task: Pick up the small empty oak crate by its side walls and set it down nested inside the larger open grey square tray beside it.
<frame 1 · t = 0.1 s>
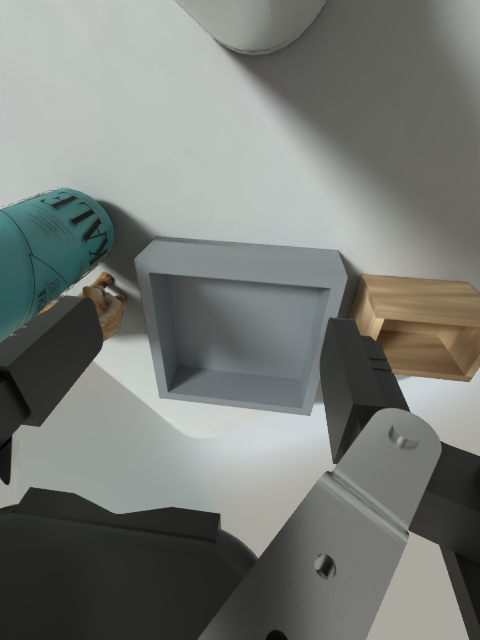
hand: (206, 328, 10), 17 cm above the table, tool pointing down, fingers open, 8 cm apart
lion figurine: (89, 286, 31), on the table
beverage bottle: (91, 219, 27), on the table
small oak crate: (402, 306, 28), on the table
grey square tray: (241, 317, 31), on the table
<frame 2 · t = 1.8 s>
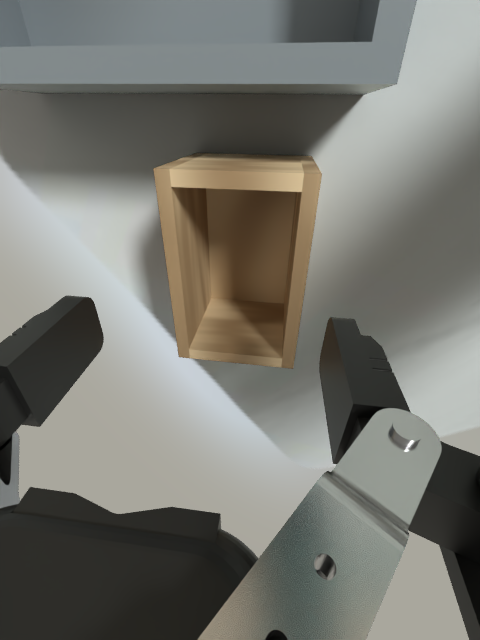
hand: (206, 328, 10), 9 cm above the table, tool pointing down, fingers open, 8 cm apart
small oak crate: (249, 239, 18), on the table
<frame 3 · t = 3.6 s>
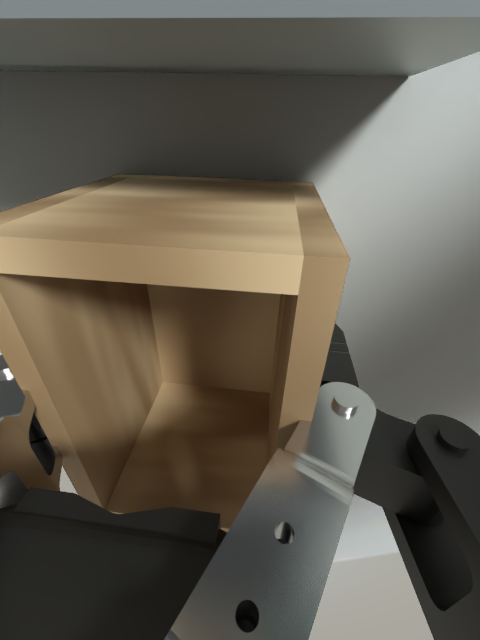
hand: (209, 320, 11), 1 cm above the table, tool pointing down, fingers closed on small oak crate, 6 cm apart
small oak crate: (216, 304, 12), on the table, touching gripper
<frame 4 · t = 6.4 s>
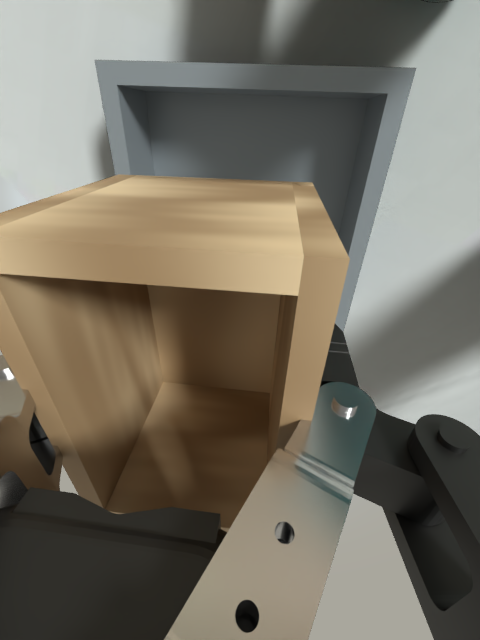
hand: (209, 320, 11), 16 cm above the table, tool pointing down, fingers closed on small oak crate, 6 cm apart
small oak crate: (216, 304, 12), point 14 cm above the table, touching gripper
grey square tray: (249, 207, 23), on the table
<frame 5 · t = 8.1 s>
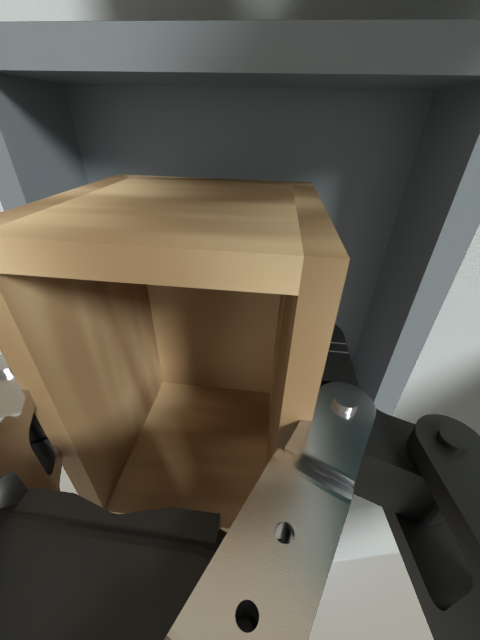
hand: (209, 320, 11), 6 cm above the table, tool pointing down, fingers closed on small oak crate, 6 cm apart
small oak crate: (216, 304, 12), point 5 cm above the table, touching gripper
grey square tray: (238, 254, 16), on the table
when the fingers open (4 cm above the table, at t = 9.5 s): small oak crate drops 2 cm, resting on grey square tray.
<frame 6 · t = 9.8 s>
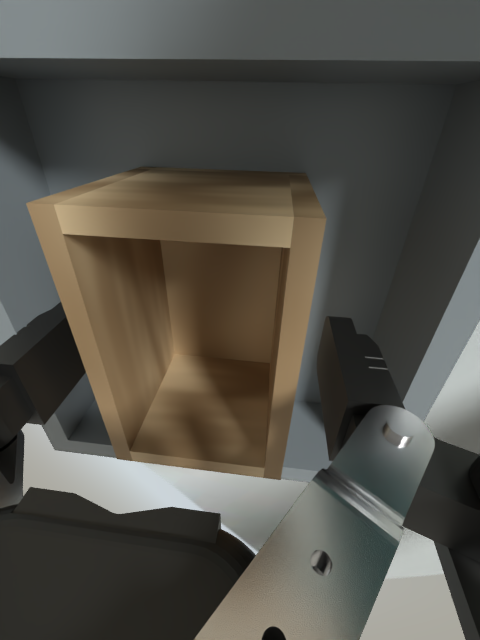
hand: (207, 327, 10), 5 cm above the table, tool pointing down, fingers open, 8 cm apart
small oak crate: (222, 282, 13), point 1 cm above the table, touching grey square tray
grey square tray: (227, 273, 14), on the table
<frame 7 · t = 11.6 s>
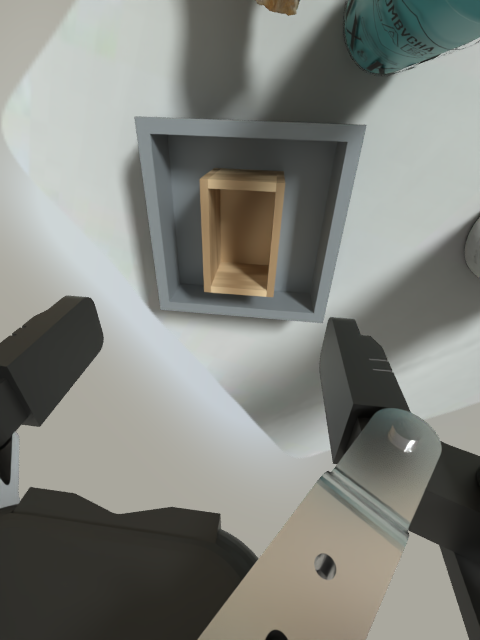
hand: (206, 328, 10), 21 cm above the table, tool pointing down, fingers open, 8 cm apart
beverage bottle: (385, 22, 21), on the table
small oak crate: (246, 222, 28), point 1 cm above the table, touching grey square tray
grey square tray: (248, 219, 29), on the table
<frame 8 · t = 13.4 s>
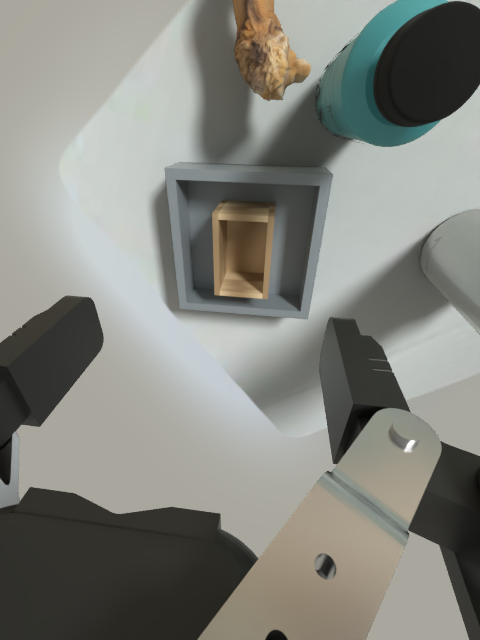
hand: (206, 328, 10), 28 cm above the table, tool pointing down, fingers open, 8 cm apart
lion figurine: (264, 11, 26), on the table
beverage bottle: (348, 97, 29), on the table
small oak crate: (247, 240, 36), point 1 cm above the table, touching grey square tray
grey square tray: (248, 237, 37), on the table
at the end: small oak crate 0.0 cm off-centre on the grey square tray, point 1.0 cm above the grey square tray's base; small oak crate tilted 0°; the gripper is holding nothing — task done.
